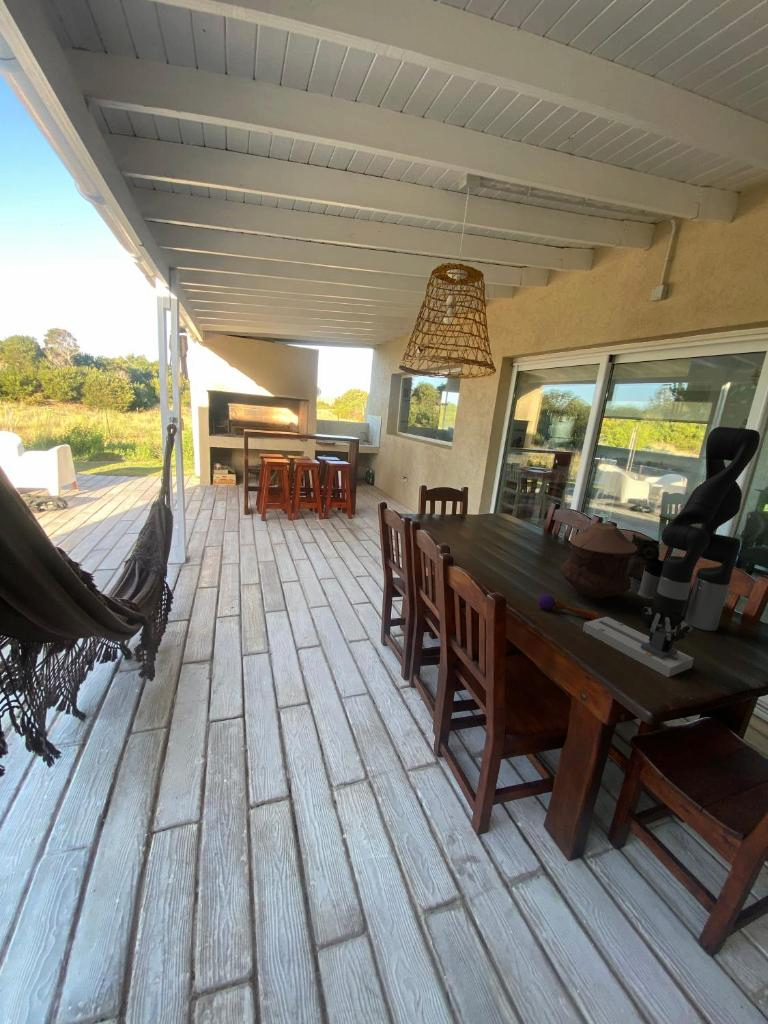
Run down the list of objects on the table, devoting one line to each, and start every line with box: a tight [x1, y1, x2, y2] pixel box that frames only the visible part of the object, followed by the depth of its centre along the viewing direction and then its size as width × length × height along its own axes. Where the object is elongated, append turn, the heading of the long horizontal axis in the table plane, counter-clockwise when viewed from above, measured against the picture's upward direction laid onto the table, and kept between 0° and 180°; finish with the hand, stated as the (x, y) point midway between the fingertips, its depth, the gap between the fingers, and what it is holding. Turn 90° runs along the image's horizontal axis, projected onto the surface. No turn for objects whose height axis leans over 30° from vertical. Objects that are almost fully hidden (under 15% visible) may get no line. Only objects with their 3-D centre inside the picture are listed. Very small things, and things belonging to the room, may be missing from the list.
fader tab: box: [641, 628, 679, 659], centre depth 119 cm, size 8×6×6 cm
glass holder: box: [637, 559, 664, 601], centre depth 164 cm, size 9×14×15 cm, turn 15°
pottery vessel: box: [560, 522, 638, 600], centre depth 162 cm, size 26×26×30 cm
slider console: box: [582, 616, 694, 678], centre depth 126 cm, size 12×27×3 cm, turn 27°
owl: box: [627, 533, 660, 582], centre depth 187 cm, size 13×13×20 cm
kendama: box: [537, 592, 599, 621], centre depth 148 cm, size 6×6×20 cm
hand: (659, 646), depth 120 cm, fingers closed on fader tab, 3 cm apart
